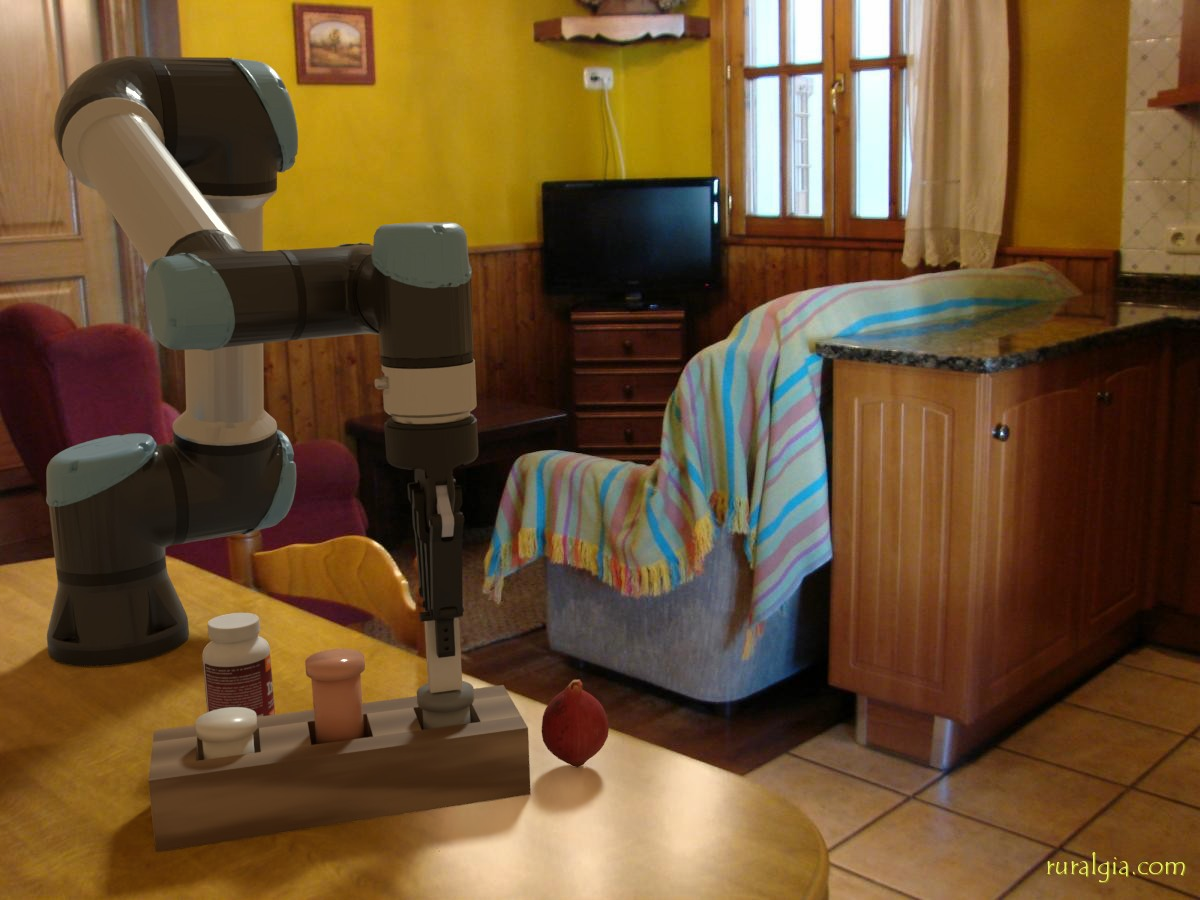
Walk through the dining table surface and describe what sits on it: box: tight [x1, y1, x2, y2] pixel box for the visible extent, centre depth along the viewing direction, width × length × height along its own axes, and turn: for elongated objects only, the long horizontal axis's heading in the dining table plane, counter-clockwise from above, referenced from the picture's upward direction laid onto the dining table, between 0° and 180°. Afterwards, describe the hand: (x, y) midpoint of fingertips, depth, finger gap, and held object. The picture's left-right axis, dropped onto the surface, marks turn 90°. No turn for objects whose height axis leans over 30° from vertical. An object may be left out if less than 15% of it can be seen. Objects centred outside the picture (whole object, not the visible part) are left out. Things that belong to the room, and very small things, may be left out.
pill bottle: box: [201, 612, 276, 717], centre depth 124 cm, size 6×6×11 cm
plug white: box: [195, 707, 257, 760], centre depth 108 cm, size 5×5×8 cm
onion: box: [541, 679, 610, 768], centre depth 115 cm, size 6×6×8 cm
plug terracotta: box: [304, 648, 366, 744], centre depth 110 cm, size 5×5×8 cm
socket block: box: [147, 684, 532, 853], centre depth 111 cm, size 10×30×6 cm, turn 106°
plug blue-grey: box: [416, 680, 475, 730], centre depth 113 cm, size 5×5×8 cm
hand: (445, 687), depth 112 cm, fingers closed
